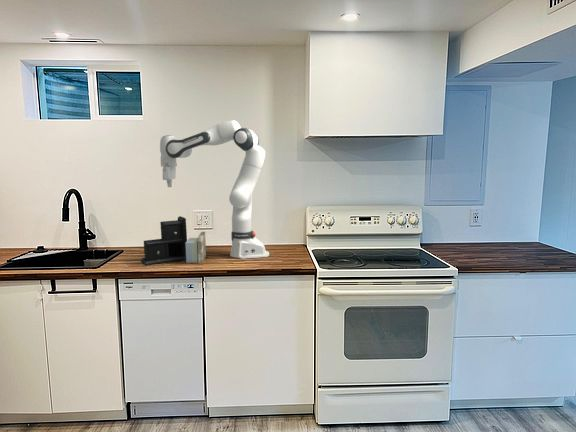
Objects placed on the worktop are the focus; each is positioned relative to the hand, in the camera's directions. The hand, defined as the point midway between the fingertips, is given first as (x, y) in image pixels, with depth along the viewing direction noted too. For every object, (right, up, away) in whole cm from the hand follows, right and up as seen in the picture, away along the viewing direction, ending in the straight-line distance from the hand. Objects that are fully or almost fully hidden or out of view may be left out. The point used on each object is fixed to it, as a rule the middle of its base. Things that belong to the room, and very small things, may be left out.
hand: (169, 187), depth 241 cm
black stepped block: (+2, -42, -17) cm, 45 cm away
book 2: (+19, -41, -14) cm, 48 cm away
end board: (+22, -41, -14) cm, 49 cm away
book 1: (+16, -41, -14) cm, 47 cm away
